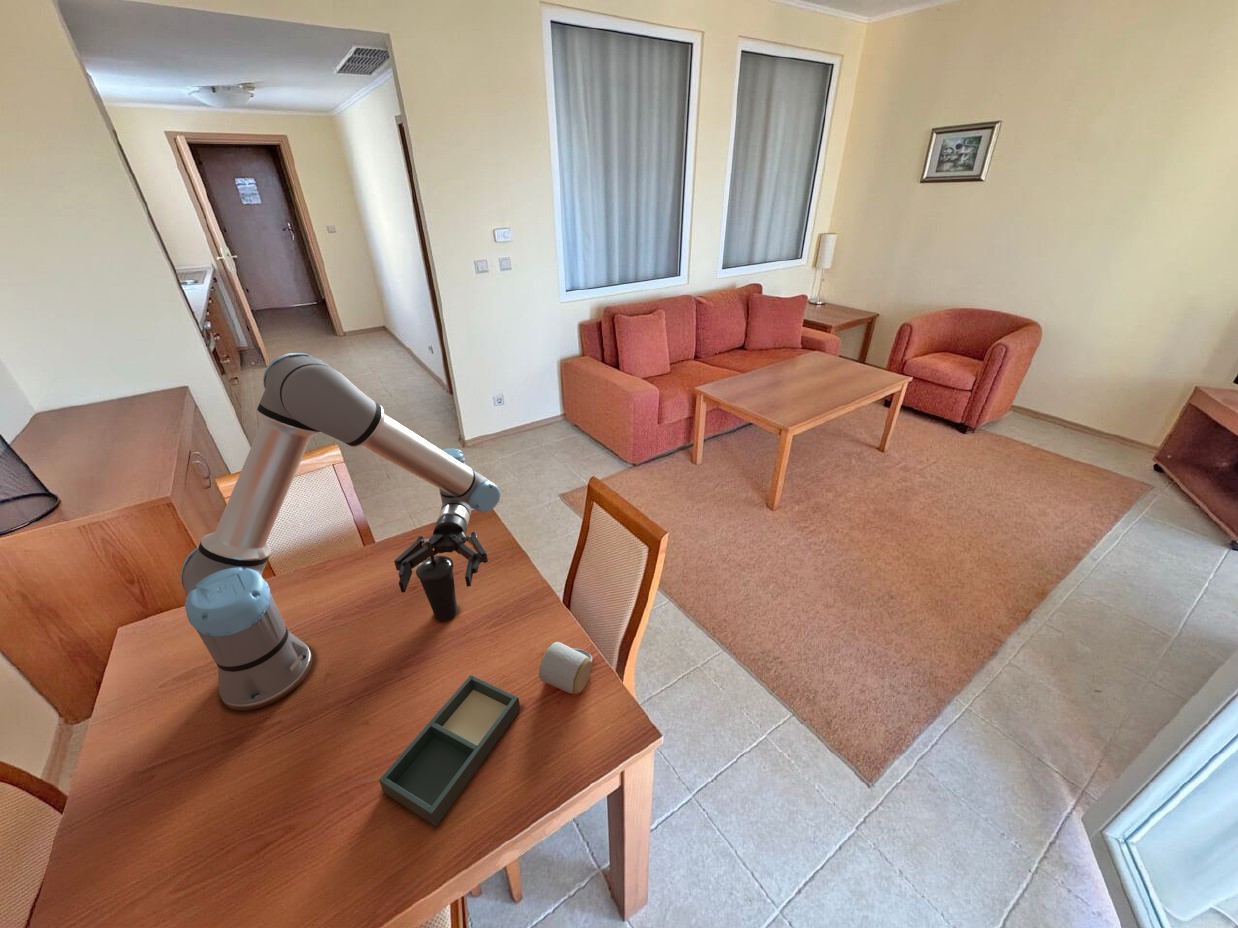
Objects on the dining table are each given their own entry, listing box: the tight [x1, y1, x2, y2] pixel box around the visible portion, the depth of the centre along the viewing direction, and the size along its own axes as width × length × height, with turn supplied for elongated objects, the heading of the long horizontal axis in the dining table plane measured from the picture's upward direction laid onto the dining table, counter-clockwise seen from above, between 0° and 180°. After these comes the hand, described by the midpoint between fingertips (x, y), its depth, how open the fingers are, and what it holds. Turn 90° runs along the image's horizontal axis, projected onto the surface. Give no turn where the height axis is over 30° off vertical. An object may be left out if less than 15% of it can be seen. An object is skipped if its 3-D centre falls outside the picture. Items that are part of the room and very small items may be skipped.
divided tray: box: [378, 674, 521, 827], centre depth 84 cm, size 11×21×4 cm, turn 154°
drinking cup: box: [415, 543, 458, 622], centre depth 108 cm, size 8×8×20 cm
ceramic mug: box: [538, 641, 593, 695], centre depth 96 cm, size 11×8×8 cm
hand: (435, 584), depth 105 cm, fingers open, 13 cm apart
